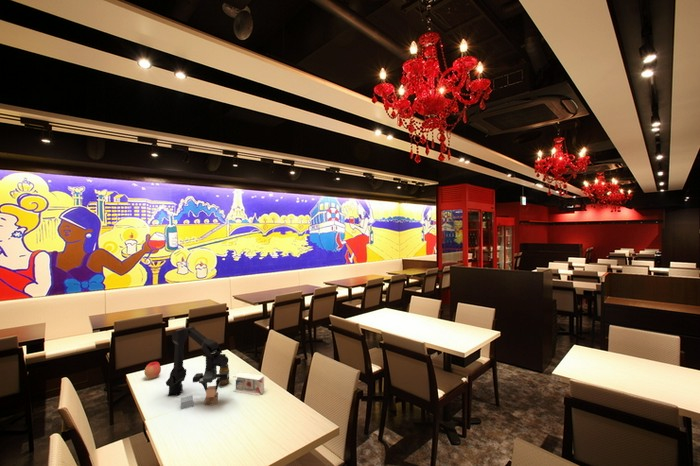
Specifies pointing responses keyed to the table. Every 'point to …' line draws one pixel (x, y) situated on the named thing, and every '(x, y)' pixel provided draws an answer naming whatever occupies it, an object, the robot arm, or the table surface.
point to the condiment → (226, 382)
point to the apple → (152, 370)
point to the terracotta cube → (211, 391)
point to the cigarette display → (249, 383)
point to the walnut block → (211, 400)
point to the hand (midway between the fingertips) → (211, 391)
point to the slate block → (187, 402)
